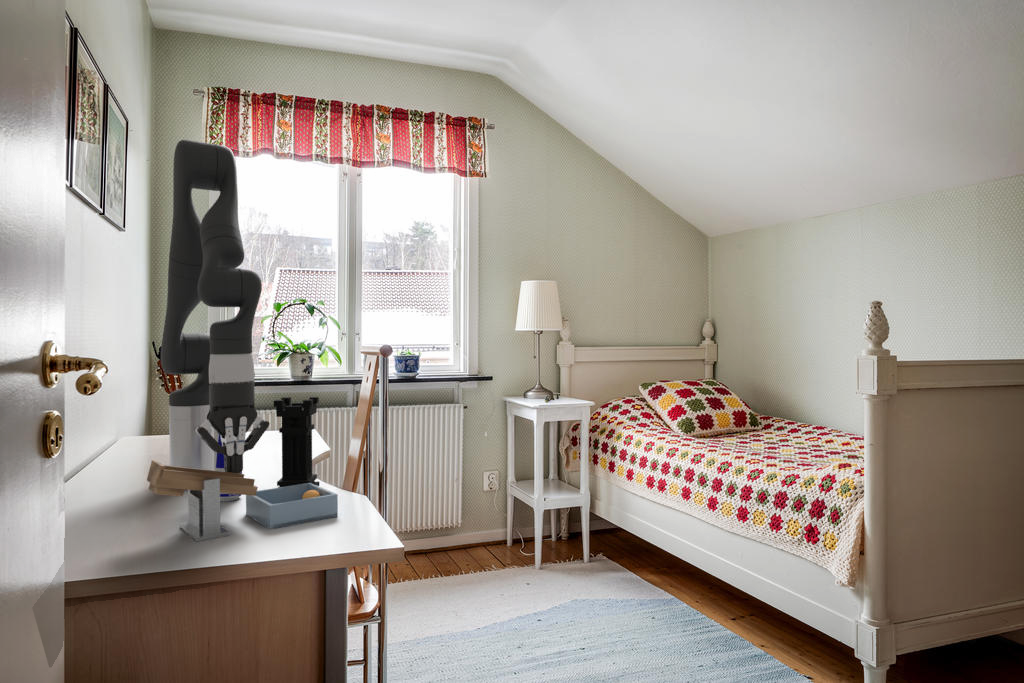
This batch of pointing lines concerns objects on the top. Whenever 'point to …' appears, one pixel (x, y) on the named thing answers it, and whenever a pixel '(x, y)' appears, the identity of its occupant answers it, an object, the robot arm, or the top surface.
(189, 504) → the fulcrum
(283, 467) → the chess piece
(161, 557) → the top surface
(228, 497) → the beverage can
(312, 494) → the ball
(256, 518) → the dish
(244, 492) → the lever
